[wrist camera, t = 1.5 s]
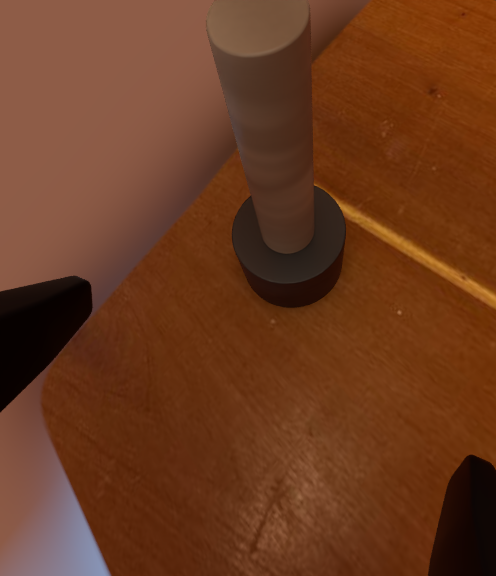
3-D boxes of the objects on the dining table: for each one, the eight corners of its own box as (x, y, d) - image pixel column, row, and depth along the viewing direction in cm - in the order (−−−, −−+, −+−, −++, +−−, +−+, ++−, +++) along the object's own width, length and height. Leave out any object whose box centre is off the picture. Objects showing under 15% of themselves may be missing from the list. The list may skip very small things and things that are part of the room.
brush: (279, 327, 25) (221, 150, 10) (225, 251, 27) (110, 9, 12) (362, 270, 25) (425, 18, 10) (303, 200, 27) (286, -98, 12)
